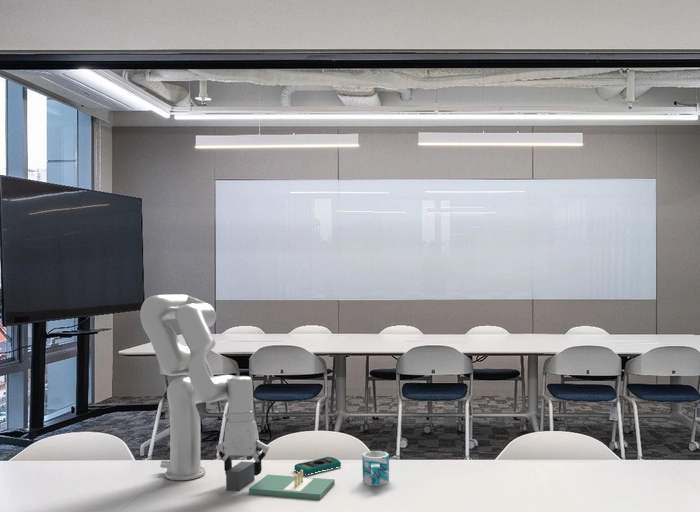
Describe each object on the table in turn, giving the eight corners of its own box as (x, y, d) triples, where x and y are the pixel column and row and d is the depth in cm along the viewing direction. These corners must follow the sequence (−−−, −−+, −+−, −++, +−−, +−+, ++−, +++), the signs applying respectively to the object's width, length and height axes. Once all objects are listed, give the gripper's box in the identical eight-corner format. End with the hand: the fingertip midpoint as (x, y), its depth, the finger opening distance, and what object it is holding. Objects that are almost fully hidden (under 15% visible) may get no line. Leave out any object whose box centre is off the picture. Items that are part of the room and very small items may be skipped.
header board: (248, 493, 181) (248, 476, 181) (267, 479, 194) (267, 463, 194) (320, 499, 175) (319, 481, 175) (334, 484, 188) (334, 467, 189)
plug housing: (226, 489, 185) (226, 471, 185) (245, 476, 198) (245, 458, 198) (239, 490, 183) (239, 472, 184) (258, 477, 197) (258, 459, 197)
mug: (389, 477, 195) (388, 450, 195) (389, 489, 183) (388, 461, 183) (363, 477, 195) (362, 450, 196) (361, 489, 183) (361, 461, 184)
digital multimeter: (342, 468, 206) (342, 459, 206) (306, 477, 197) (306, 468, 197) (329, 464, 212) (329, 455, 212) (293, 472, 203) (293, 463, 203)
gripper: (209, 419, 189) (211, 476, 188) (262, 419, 184) (264, 478, 183) (221, 414, 196) (223, 469, 195) (272, 415, 191) (274, 471, 190)
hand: (243, 473), depth 189 cm, fingers open, 9 cm apart
